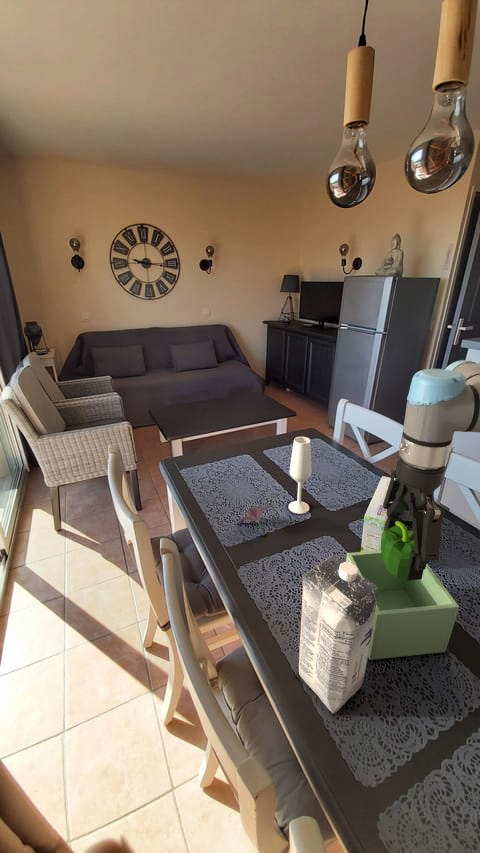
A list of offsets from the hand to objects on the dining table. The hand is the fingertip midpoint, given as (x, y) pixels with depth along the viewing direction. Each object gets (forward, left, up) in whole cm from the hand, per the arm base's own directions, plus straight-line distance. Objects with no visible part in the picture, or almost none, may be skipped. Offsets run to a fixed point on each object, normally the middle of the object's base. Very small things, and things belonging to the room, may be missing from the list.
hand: (401, 560), depth 71 cm
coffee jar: (-21, -35, -17) cm, 44 cm away
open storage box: (0, 0, -17) cm, 17 cm away
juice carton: (+17, +11, -17) cm, 27 cm away
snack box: (-8, -24, -17) cm, 31 cm away
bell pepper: (0, 0, -2) cm, 2 cm away
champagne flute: (+10, -42, -17) cm, 47 cm away
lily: (+25, -34, -17) cm, 46 cm away
